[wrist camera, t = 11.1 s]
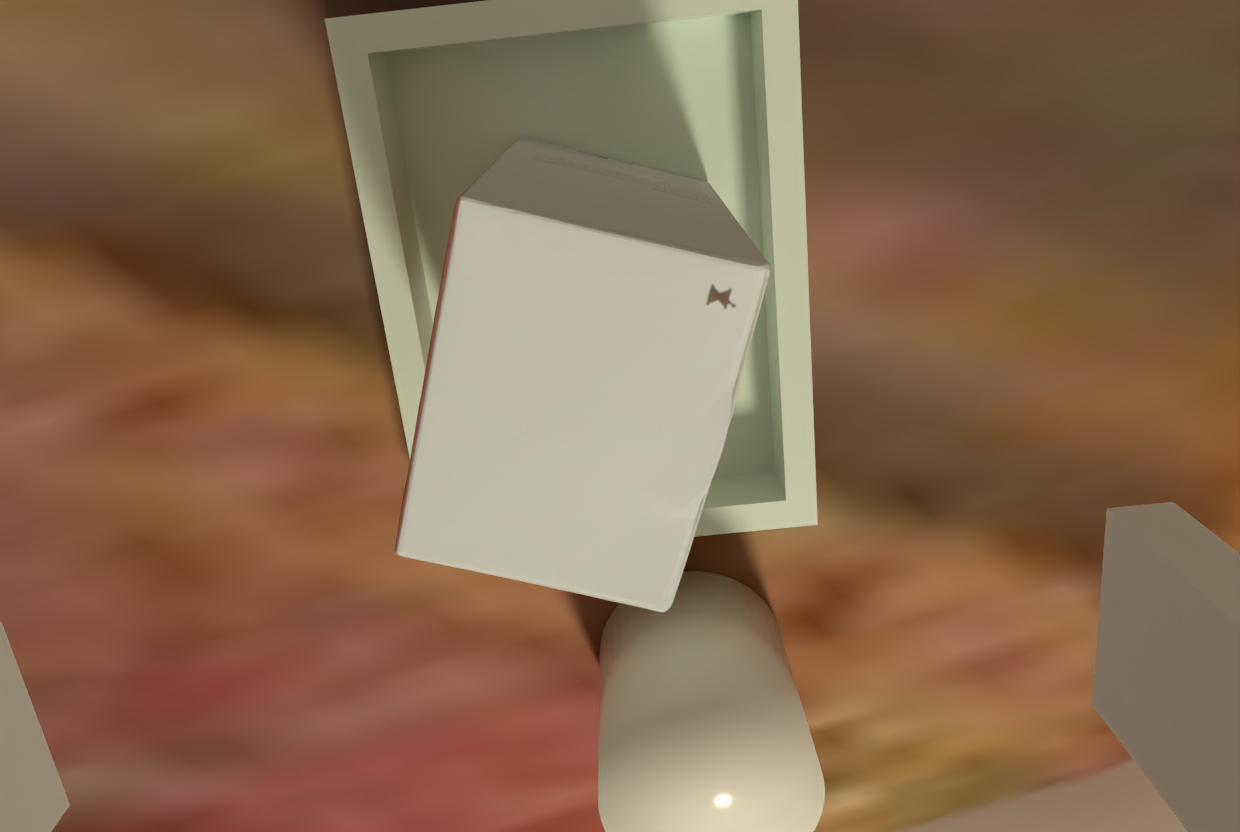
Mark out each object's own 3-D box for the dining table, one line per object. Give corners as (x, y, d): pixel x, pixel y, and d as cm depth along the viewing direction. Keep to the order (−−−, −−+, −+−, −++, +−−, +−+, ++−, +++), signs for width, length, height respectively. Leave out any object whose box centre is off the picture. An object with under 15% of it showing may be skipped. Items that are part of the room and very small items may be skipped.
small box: (516, 132, 30) (454, 184, 18) (713, 180, 31) (783, 261, 19) (469, 374, 33) (387, 562, 21) (651, 414, 34) (677, 620, 21)
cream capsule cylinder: (609, 734, 39) (610, 895, 31) (590, 580, 37) (585, 715, 29) (785, 717, 39) (828, 876, 31) (776, 562, 36) (821, 694, 29)
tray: (443, 522, 36) (429, 562, 33) (351, 22, 30) (324, 18, 27) (800, 486, 35) (817, 524, 32) (778, -26, 29) (796, -35, 27)
